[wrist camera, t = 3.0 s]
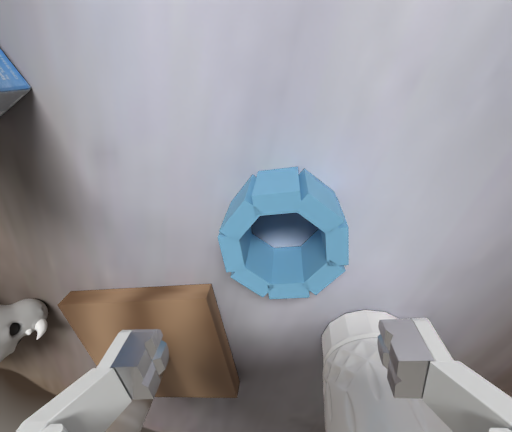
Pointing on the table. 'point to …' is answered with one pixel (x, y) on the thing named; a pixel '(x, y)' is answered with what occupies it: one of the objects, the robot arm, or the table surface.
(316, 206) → the ring
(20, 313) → the round bodied animal figurine
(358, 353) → the white cup
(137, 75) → the table surface
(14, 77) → the blue printed box
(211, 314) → the post block
